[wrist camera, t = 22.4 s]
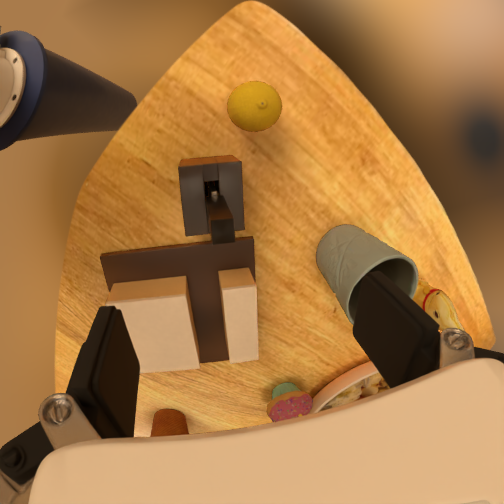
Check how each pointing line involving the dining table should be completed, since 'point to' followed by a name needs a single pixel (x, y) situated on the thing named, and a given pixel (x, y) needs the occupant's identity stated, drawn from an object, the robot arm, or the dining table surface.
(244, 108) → the lemon
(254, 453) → the robot arm
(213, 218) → the knife
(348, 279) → the grey green embossed vase
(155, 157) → the dining table surface
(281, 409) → the cupcake
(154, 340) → the cake
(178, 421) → the disposable coffee cup
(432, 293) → the chocolate bunny
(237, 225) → the knife block
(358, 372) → the bowl
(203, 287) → the cake board
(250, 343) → the cake slice
